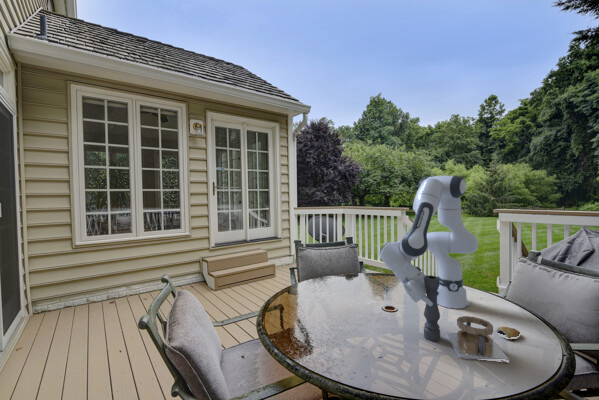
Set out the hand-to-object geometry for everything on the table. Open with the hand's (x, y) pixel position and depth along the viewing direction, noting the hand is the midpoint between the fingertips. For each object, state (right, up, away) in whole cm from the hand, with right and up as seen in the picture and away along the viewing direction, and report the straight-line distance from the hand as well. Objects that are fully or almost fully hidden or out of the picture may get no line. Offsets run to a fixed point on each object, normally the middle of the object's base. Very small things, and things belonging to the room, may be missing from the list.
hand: (433, 302), depth 112 cm
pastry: (+32, -15, +1) cm, 35 cm away
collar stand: (+12, -15, -8) cm, 21 cm away
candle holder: (0, -15, +1) cm, 15 cm away
